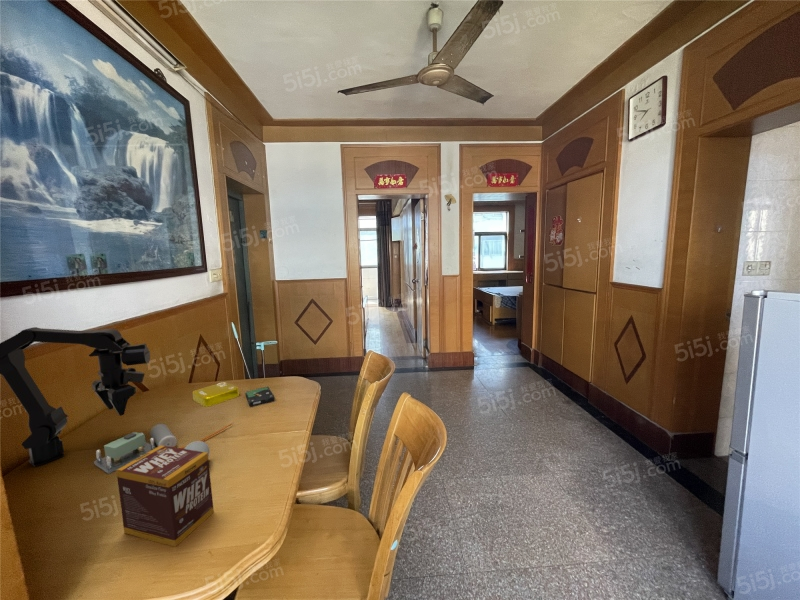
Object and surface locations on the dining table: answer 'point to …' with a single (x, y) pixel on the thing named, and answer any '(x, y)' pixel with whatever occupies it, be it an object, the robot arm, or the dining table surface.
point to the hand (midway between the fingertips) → (116, 412)
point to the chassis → (122, 458)
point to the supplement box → (165, 494)
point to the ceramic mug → (198, 446)
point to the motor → (170, 436)
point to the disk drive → (259, 396)
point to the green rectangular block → (124, 445)
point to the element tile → (215, 394)
